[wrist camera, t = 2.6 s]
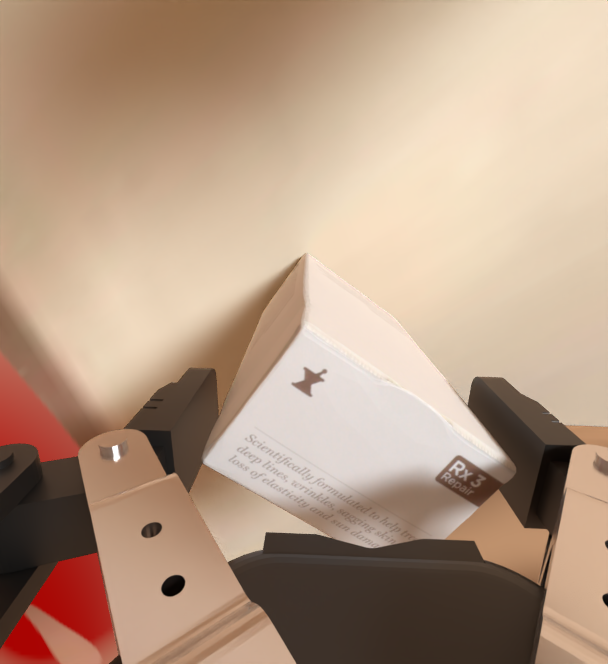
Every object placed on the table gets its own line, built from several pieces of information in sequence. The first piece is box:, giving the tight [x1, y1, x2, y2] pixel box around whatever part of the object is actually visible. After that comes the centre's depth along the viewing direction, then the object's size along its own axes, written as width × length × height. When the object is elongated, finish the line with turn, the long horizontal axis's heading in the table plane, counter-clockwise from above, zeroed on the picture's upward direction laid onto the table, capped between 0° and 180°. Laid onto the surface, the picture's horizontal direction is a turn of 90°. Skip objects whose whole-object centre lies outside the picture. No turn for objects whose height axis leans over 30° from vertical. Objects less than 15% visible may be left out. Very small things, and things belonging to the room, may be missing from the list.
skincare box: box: [202, 253, 516, 548], centre depth 14 cm, size 6×4×12 cm
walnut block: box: [445, 425, 608, 583], centre depth 21 cm, size 12×12×5 cm
